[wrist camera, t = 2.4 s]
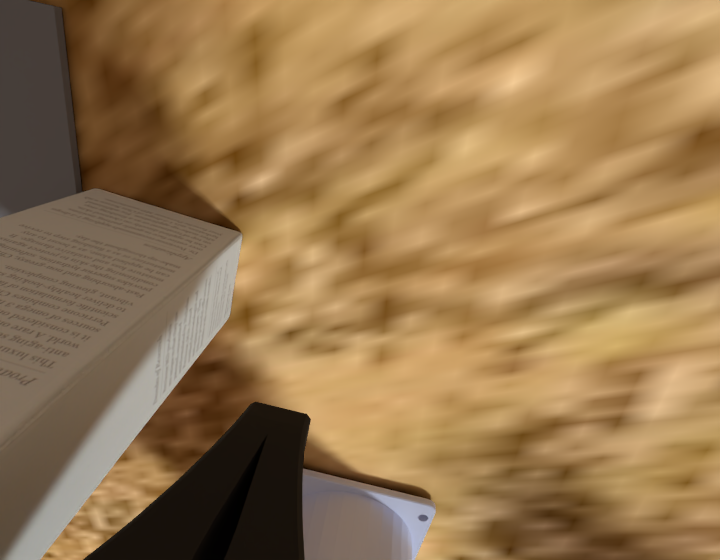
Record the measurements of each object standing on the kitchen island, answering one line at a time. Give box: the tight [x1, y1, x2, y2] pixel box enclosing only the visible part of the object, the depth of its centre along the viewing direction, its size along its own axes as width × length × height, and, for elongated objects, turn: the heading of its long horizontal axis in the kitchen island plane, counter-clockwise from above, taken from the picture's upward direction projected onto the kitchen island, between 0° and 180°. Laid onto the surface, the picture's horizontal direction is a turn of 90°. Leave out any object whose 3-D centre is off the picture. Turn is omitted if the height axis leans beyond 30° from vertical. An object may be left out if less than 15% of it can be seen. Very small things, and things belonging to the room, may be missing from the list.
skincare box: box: [0, 188, 242, 560], centre depth 11 cm, size 6×4×12 cm
